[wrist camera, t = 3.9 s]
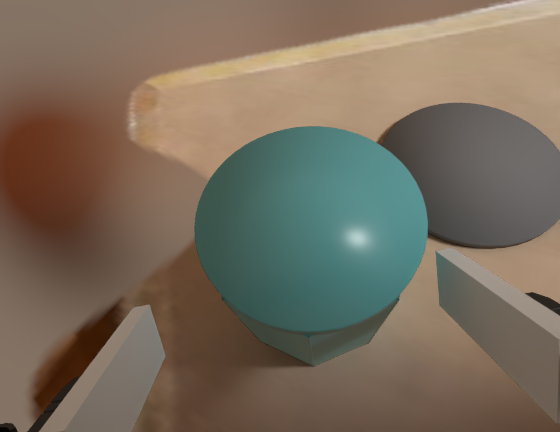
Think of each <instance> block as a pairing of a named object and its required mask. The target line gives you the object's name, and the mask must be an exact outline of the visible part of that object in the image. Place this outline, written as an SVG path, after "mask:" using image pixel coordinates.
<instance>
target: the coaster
mask: <svg viewBox="0 0 560 432" xmlns="http://www.w3.org/2000/svg"><path fill="white" fill-rule="evenodd" d="M382 147H384V148H385V149H387V150H388V151H389V152H391V153H392V154H393V155H394V156H395V157H396V158H397V159H399V160H400V161H401V162H402V163H403V165H404V166H405V167H406V168H407V169H408V171H409V172H410V173H411V175H412V176H413V178H414V180H415V181H416V183H417V185H418V187H419V189H420V191H421V193H422V196H423V199H424V203H425V206H426V211H427V219H428V233H429V234H431V235H433V236H435V237H437V238H440V239H442V240H445V241H448V242H450V243H454V244H458V245H462V246H468V247H474V248H491V249H492V248H505V247H510V246H515V245H519V244H522V243H525V242H528V241H530V240H532V239H534V238H536V237H538V236H540V235H541V234H543V233H544V232H545V231H547V230H548V229H549V228H551V227H552V226H553V225H554V224H555V223H556V222H557V221H558V220H559V219H560V151H559V150H558V149H557V147H556V146H555V145H554V144H553V142H552V141H551V140H550V139H549V138H548V137H547V136H546V135H544V134H543V133H542V132H541V131H540V130H538V129H537V128H536V127H534V126H533V125H531V124H530V123H528V122H527V121H525V120H523V119H521V118H519V117H517V116H515V115H513V114H510V113H508V112H505V111H502V110H499V109H496V108H493V107H489V106H484V105H478V104H471V103H446V104H439V105H434V106H429V107H426V108H423V109H420V110H418V111H415V112H413V113H411V114H409V115H408V116H406V117H404V118H403V119H402V120H400V121H399V122H398V123H397V124H396V125H395V126H394V127H393V128H392V129H391V130H390V132H389V133H388V134H387V136H386V138H385V140H384V142H383V144H382Z"/></svg>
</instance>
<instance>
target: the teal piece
mask: <svg viewBox="0 0 560 432" xmlns="http://www.w3.org/2000/svg"><path fill="white" fill-rule="evenodd" d="M427 235H428V219H427V211H426V206H425V203H424V199H423V196H422V193H421V191H420V189H419V187H418V185H417V183H416V181H415V180H414V178H413V176H412V175H411V173H410V172H409V171H408V169H407V168H406V167H405V166H404V165H403V163H402V162H401V161H400V160H399V159H397V158H396V157H395V156H394V155H393V154H392V153H391V152H389V151H388V150H387V149H385V148H384V147H382V146H381V145H379V144H377V143H376V142H374V141H372V140H370V139H368V138H366V137H363V136H361V135H359V134H356V133H353V132H349V131H346V130H341V129H336V128H330V127H320V126H309V127H296V128H290V129H285V130H280V131H277V132H274V133H270V134H267V135H265V136H263V137H260V138H258V139H256V140H254V141H252V142H250V143H248V144H246V145H245V146H243V147H242V148H240V149H239V150H237V151H236V152H235V153H234V154H232V155H231V156H230V157H229V158H228V159H226V160H225V161H224V163H223V164H222V165H221V166H220V167H219V168H218V169H217V170H216V172H215V173H214V174H213V176H212V177H211V178H210V180H209V182H208V183H207V185H206V187H205V189H204V191H203V193H202V196H201V198H200V201H199V204H198V208H197V212H196V218H195V242H196V248H197V253H198V256H199V259H200V262H201V264H202V267H203V269H204V271H205V273H206V274H207V276H208V278H209V280H210V281H211V282H212V284H213V285H214V286H215V288H216V289H217V290H218V292H219V293H220V294H221V295H222V300H223V301H224V302H225V303H226V304H227V305H228V306H229V307H230V309H231V310H232V311H233V312H234V313H235V314H236V315H237V316H238V317H239V318H240V320H241V321H242V322H243V323H244V324H245V325H246V326H247V327H248V328H249V329H250V330H251V332H252V333H253V334H254V335H255V336H256V337H257V338H258V339H259V340H260V341H261V342H264V343H266V344H268V345H270V346H272V347H274V348H276V349H278V350H280V351H283V352H285V353H287V354H289V355H291V356H293V357H295V358H297V359H300V360H302V361H304V362H306V363H308V364H310V365H312V366H315V365H318V364H320V363H322V362H325V361H327V360H329V359H332V358H334V357H337V356H339V355H341V354H344V353H346V352H348V351H351V350H353V349H355V348H358V347H360V346H362V345H365V344H368V343H369V342H370V340H371V339H372V338H373V336H374V335H375V333H376V332H377V331H378V329H379V328H380V326H381V325H382V324H383V322H384V321H385V319H386V318H387V317H388V315H389V314H390V312H391V311H392V310H393V308H394V307H395V305H396V304H397V302H398V301H399V300H400V299H399V297H400V294H401V293H402V291H403V290H404V289H405V288H406V286H407V285H408V283H409V282H410V280H411V279H412V277H413V276H414V274H415V272H416V270H417V268H418V267H419V265H420V262H421V259H422V257H423V254H424V251H425V247H426V241H427Z"/></svg>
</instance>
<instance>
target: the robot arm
mask: <svg viewBox="0 0 560 432" xmlns="http://www.w3.org/2000/svg"><path fill="white" fill-rule="evenodd" d="M436 263H437V277H438V291H439V304H440V306H441V307H442V308H443V309H444V310H445V311H446V312H447V313H448V314H449V315H450V316H451V317H452V318H453V319H454V320H455V321H456V322H457V323H458V325H459V326H460V327H461V328H462V329H463V330H464V331H465V332H466V333H467V334H468V335H469V336H470V337H471V338H472V339H473V340H474V341H475V342H476V343H477V344H478V345H479V346H480V347H481V348H482V349H483V350H484V351H485V352H486V353H487V354H488V355H489V356H490V357H491V358H492V359H493V360H494V361H495V362H496V363H497V364H498V365H499V366H500V367H501V368H502V369H503V370H504V371H505V372H506V373H507V374H508V375H509V376H510V377H511V378H512V379H513V380H514V381H515V382H516V383H517V384H518V385H519V386H520V387H521V388H522V389H523V390H524V392H525V393H526V394H527V395H528V396H529V397H530V398H531V399H532V400H533V401H534V402H535V403H536V404H537V405H538V406H539V407H540V408H541V409H542V410H543V411H544V412H545V413H546V414H547V415H548V416H549V417H550V418H551V419H552V420H553V421H554V422H555V423H556V424H560V304H559V303H557V302H555V301H554V300H552V299H550V298H548V297H545V296H542V295H539V294H536V293H533V292H531V293H523V292H521V291H520V290H518V289H517V288H515V287H514V286H512V285H510V284H509V283H507V282H506V281H504V280H502V279H501V278H499V277H498V276H496V275H495V274H493V273H491V272H490V271H488V270H487V269H485V268H484V267H482V266H480V265H479V264H477V263H476V262H474V261H472V260H471V259H469V258H468V257H466V256H465V255H463V254H461V253H460V252H458V251H457V250H455V249H454V248H449V249H443V250H438V251H436ZM165 357H166V355H165V352H164V349H163V345H162V342H161V339H160V336H159V333H158V330H157V326H156V323H155V320H154V317H153V314H152V310H151V307H150V304H149V305H144V306H138V307H133V308H132V310H131V311H130V312H129V314H128V315H127V316H126V317H125V319H124V320H123V321H122V323H121V324H120V325H119V327H118V328H117V329H116V331H115V332H114V333H113V335H112V336H111V337H110V339H109V340H108V341H107V343H106V344H105V345H104V346H103V348H102V349H101V350H100V352H99V353H98V354H97V356H96V357H95V358H94V360H93V361H92V362H91V364H90V365H89V366H88V368H87V369H86V370H85V372H84V373H83V374H82V375H81V377H77V378H74V379H73V380H72V381H71V382H70V383H68V384H67V385H66V386H65V387H64V388H62V389H61V390H60V392H59V393H58V394H57V395H56V397H55V398H54V399H53V400H52V403H51V404H49V405H48V407H47V408H46V409H45V410H44V413H43V414H41V415H40V417H39V418H38V419H37V421H36V422H35V423H34V424H33V426H32V427H31V428H30V429H29V431H28V432H132V430H133V428H134V426H135V423H136V421H137V419H138V417H139V414H140V412H141V410H142V408H143V406H144V403H145V401H146V399H147V397H148V394H149V392H150V390H151V388H152V386H153V383H154V381H155V379H156V377H157V375H158V372H159V370H160V368H161V366H162V363H163V361H164V359H165ZM0 432H17V429H16V428H15V426H14V425H13V424H11V423H4V424H0Z"/></svg>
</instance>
